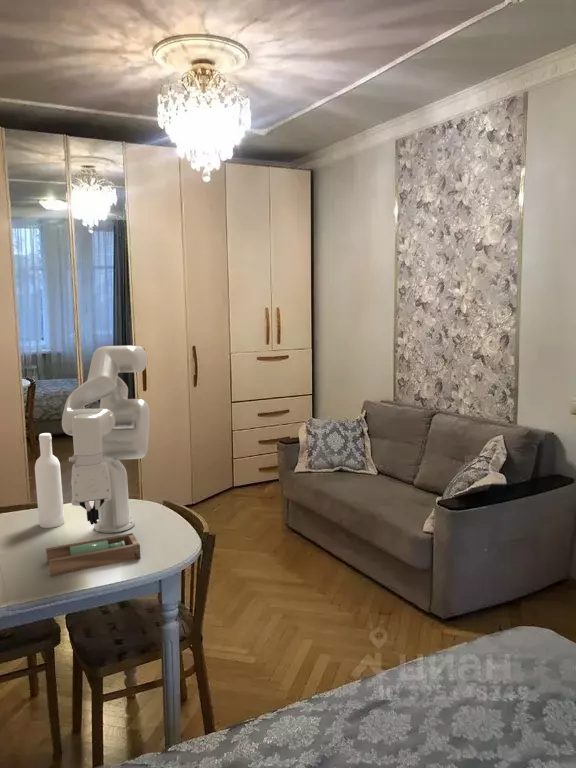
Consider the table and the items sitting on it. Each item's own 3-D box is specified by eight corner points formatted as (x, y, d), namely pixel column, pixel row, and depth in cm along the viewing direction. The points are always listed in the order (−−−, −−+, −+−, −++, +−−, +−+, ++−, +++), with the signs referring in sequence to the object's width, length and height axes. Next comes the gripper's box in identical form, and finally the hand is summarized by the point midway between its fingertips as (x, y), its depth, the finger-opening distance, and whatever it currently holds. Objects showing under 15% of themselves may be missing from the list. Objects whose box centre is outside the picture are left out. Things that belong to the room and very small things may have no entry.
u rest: (47, 561, 178) (46, 548, 177) (133, 545, 188) (132, 533, 187) (50, 576, 169) (49, 561, 168) (140, 558, 179) (139, 545, 178)
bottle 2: (69, 544, 178) (121, 535, 184) (70, 562, 178) (123, 552, 184) (71, 549, 173) (125, 539, 179) (72, 567, 173) (126, 556, 180)
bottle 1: (56, 517, 213) (49, 430, 208) (69, 522, 208) (63, 433, 203) (34, 524, 207) (26, 434, 202) (47, 530, 202) (39, 438, 197)
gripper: (61, 465, 168) (66, 532, 170) (119, 458, 174) (123, 522, 177) (58, 459, 174) (63, 522, 177) (114, 452, 181) (118, 514, 183)
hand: (93, 522), depth 177 cm, fingers closed
